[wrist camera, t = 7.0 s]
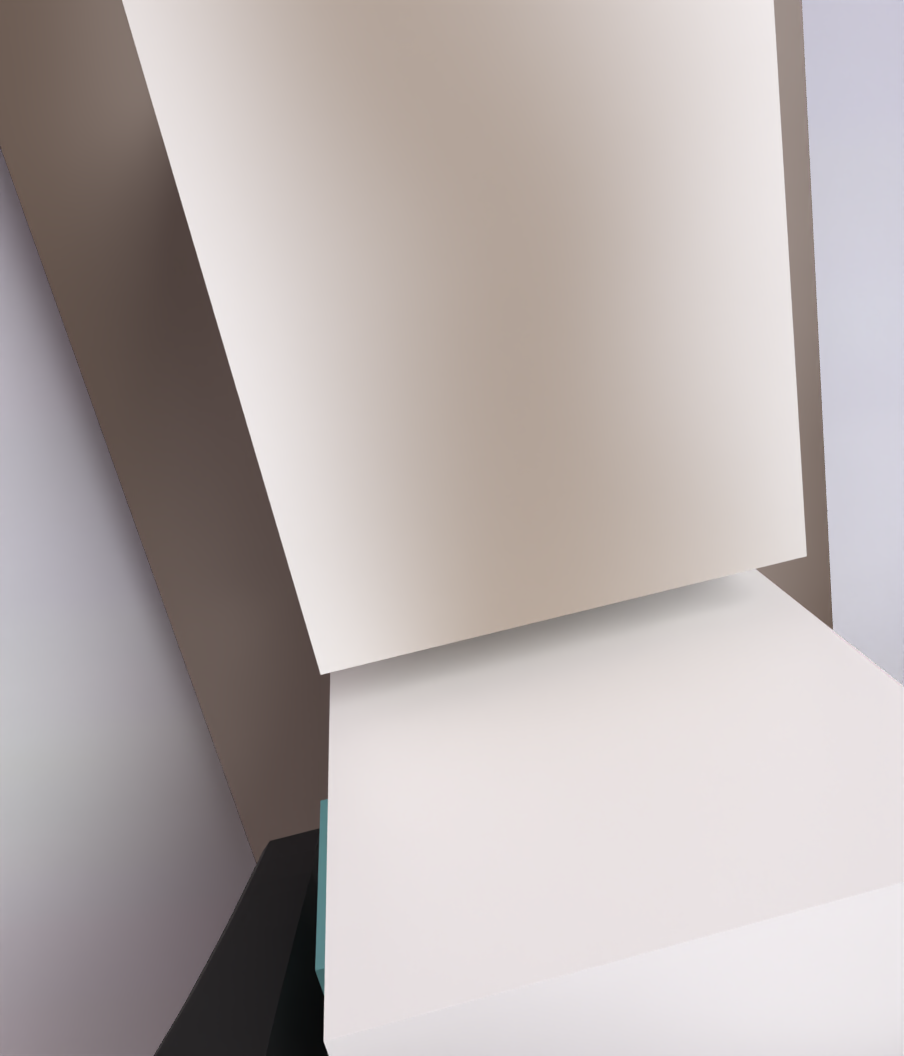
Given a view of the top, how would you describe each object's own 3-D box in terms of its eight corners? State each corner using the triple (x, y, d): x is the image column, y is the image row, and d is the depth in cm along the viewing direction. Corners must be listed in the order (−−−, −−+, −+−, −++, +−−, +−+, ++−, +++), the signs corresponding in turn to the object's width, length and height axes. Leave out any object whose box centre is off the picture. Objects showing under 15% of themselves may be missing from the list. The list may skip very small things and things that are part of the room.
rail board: (726, -257, 11) (1091, -722, 6) (818, 1052, 19) (1001, 1361, 14) (-50, -109, 10) (-450, -470, 5) (389, 1170, 19) (409, 1538, 13)
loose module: (675, 506, 12) (1086, 831, 5) (708, 764, 13) (1059, 1263, 7) (317, 594, 12) (291, 1048, 5) (392, 847, 13) (446, 1448, 7)
